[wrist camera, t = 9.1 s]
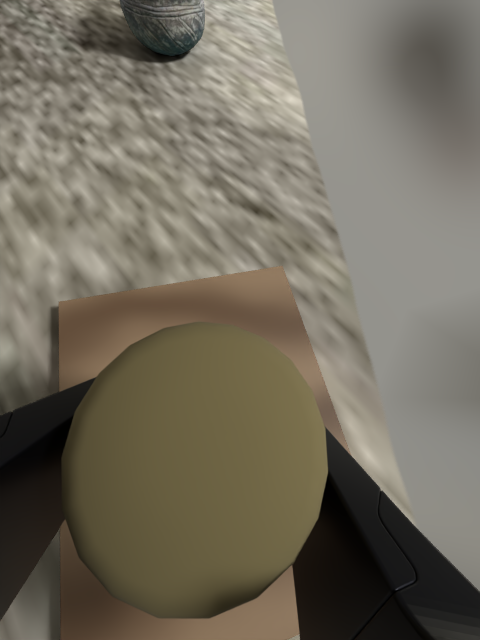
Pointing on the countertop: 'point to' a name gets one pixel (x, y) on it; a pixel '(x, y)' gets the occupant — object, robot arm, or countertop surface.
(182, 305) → the walnut board
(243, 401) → the cork
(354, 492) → the robot arm
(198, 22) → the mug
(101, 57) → the countertop surface
